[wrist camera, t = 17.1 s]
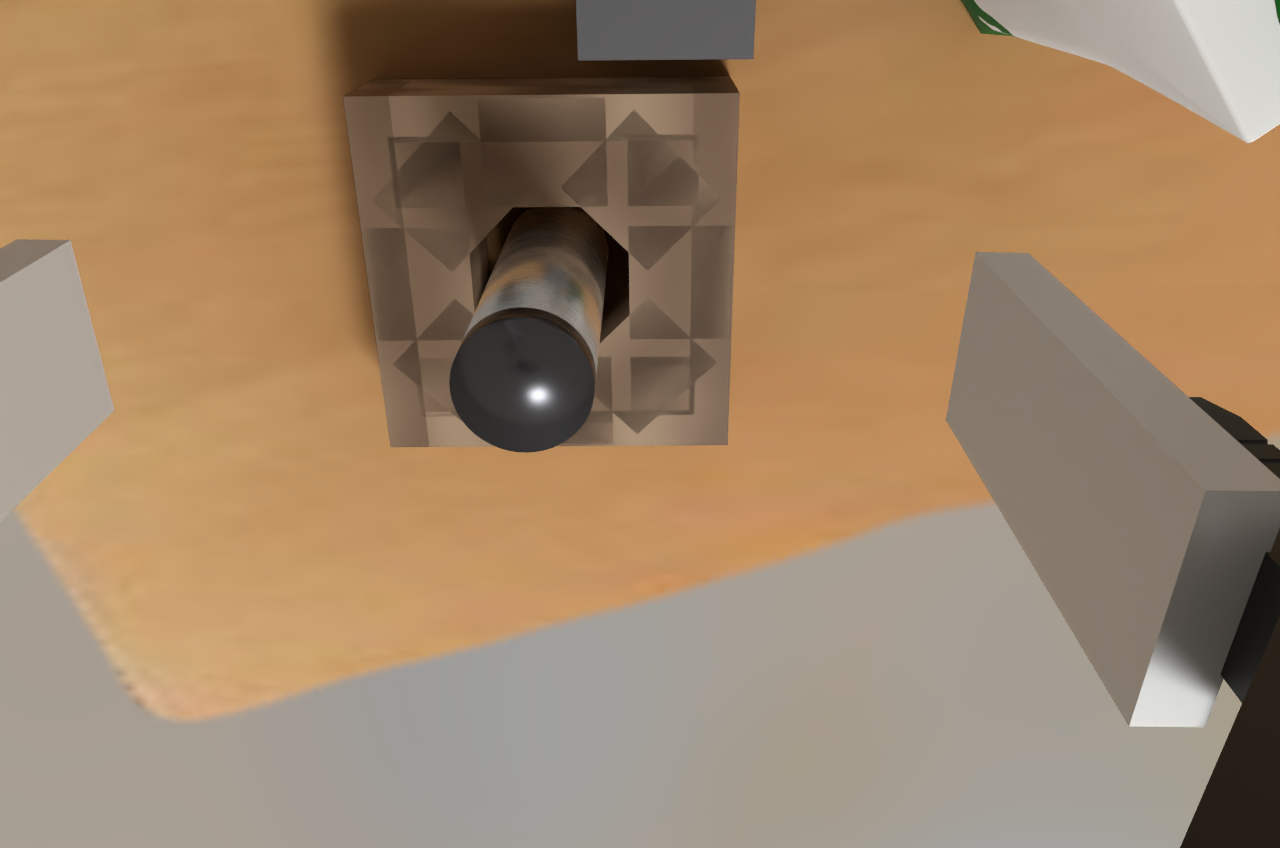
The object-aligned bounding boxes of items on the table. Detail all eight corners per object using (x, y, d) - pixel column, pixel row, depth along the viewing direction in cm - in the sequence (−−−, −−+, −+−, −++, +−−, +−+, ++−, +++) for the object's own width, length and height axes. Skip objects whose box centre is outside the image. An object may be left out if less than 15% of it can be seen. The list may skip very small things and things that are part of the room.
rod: (509, 300, 40) (455, 452, 28) (502, 201, 38) (442, 320, 27) (609, 300, 40) (596, 452, 28) (607, 201, 38) (592, 319, 27)
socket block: (411, 402, 42) (390, 447, 39) (372, 79, 36) (342, 96, 33) (720, 400, 42) (727, 445, 38) (730, 76, 36) (739, 93, 33)
